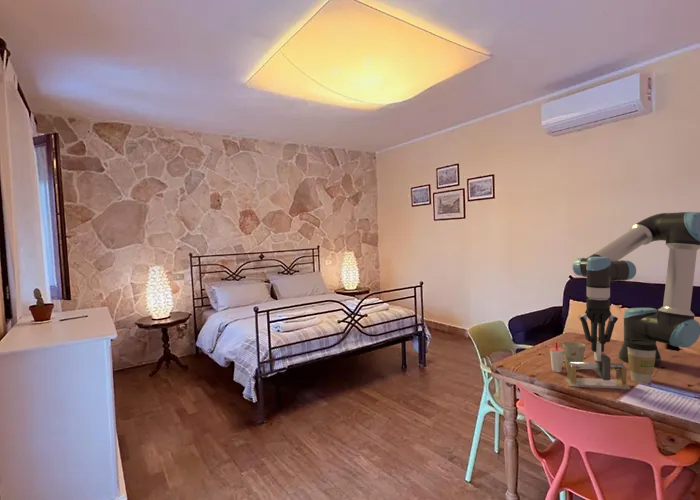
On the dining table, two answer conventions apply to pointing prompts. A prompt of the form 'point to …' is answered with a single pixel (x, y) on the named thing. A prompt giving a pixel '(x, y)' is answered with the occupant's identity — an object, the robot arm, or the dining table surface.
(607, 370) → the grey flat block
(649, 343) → the coffee cup
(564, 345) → the mug
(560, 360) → the cup
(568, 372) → the metal rod stand
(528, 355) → the dining table surface
